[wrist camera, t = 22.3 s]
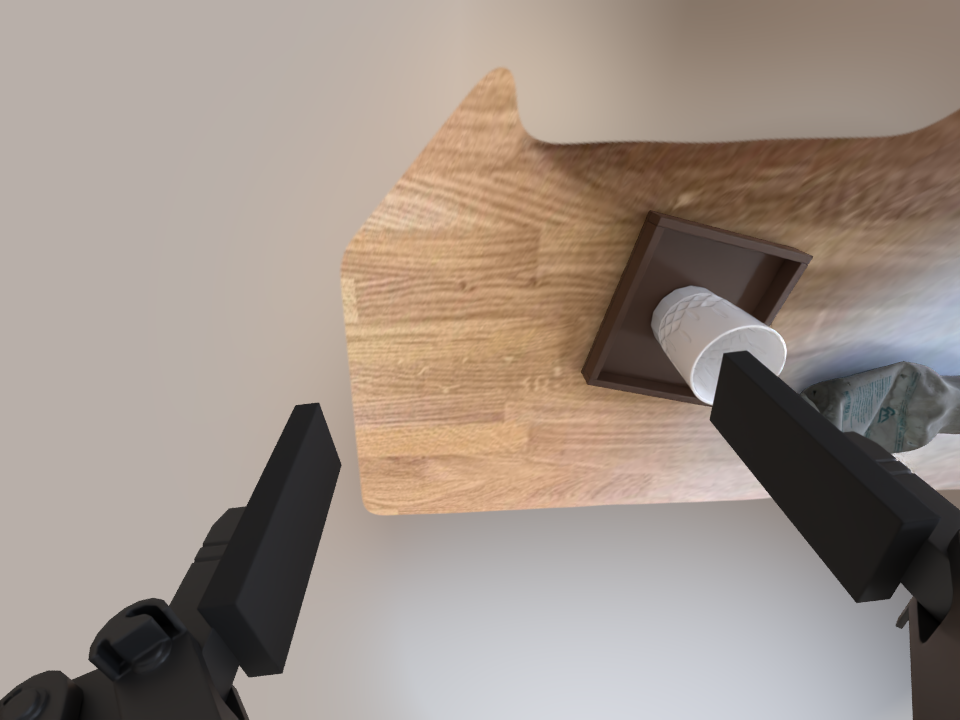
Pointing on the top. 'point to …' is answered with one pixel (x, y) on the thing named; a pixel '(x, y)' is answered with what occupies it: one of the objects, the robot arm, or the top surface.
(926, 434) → the grey hollow crumpled part
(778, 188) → the top surface
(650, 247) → the serving tray
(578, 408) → the top surface
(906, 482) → the robot arm
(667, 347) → the white cup
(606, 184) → the top surface
